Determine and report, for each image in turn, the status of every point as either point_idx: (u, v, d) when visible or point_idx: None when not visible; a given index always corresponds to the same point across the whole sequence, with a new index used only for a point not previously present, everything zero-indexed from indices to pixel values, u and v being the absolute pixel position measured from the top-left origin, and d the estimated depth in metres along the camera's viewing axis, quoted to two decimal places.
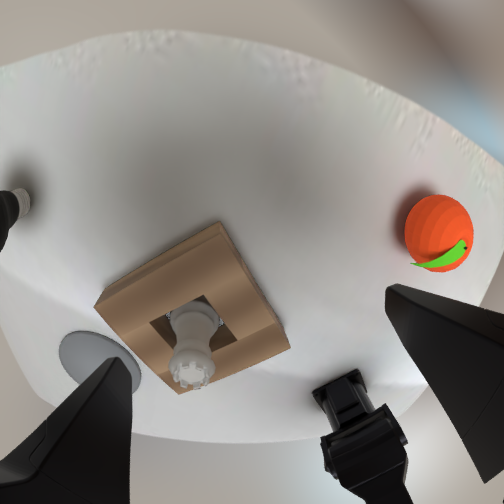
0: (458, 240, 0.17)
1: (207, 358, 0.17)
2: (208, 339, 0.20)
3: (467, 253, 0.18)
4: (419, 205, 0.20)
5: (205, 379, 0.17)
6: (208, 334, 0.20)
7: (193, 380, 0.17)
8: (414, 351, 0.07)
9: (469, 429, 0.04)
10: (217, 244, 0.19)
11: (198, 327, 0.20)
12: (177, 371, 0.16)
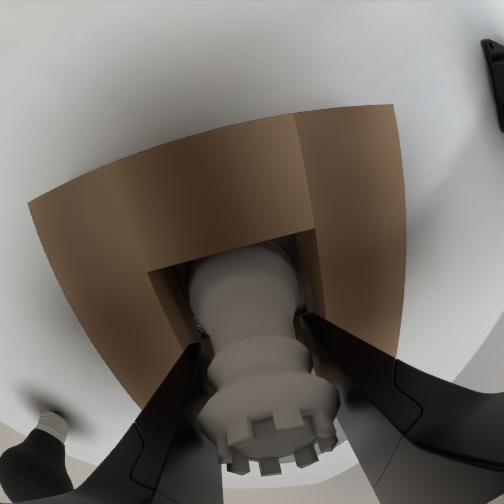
0: None
1: (240, 391, 0.05)
2: (258, 310, 0.07)
3: None
4: None
5: (313, 425, 0.04)
6: (250, 301, 0.08)
7: (305, 441, 0.05)
8: None
9: (376, 483, 0.04)
10: (43, 213, 0.07)
11: (219, 318, 0.08)
12: (238, 470, 0.05)
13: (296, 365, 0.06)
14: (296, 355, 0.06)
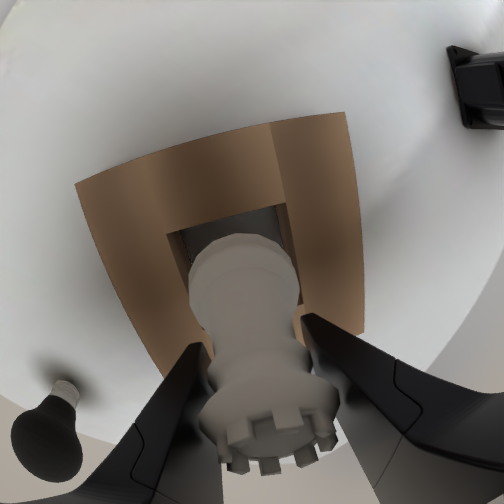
0: None
1: (240, 390, 0.05)
2: (258, 310, 0.07)
3: None
4: None
5: (312, 425, 0.04)
6: (250, 301, 0.08)
7: (304, 441, 0.05)
8: None
9: (376, 483, 0.04)
10: (88, 191, 0.10)
11: (219, 318, 0.08)
12: (238, 470, 0.05)
13: (296, 365, 0.06)
14: (296, 355, 0.06)
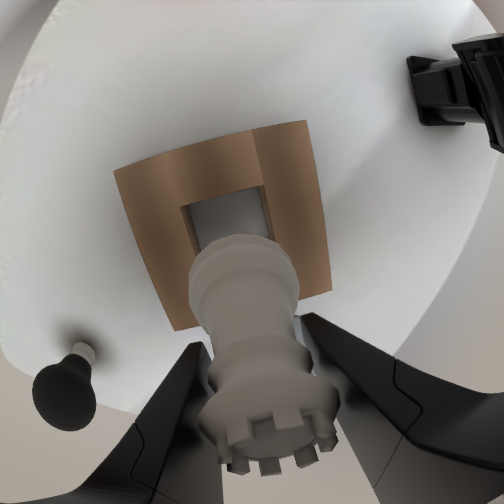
0: None
1: (240, 391, 0.05)
2: (258, 311, 0.07)
3: None
4: None
5: (313, 425, 0.04)
6: (250, 301, 0.08)
7: (304, 441, 0.05)
8: None
9: (376, 483, 0.04)
10: (123, 176, 0.15)
11: (219, 318, 0.08)
12: (238, 470, 0.05)
13: (296, 365, 0.06)
14: (296, 355, 0.06)
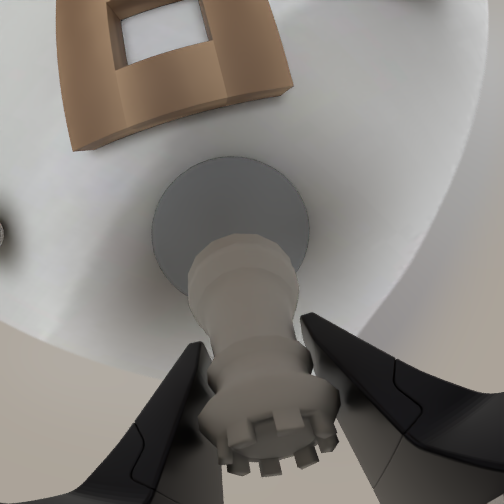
0: None
1: (240, 392, 0.05)
2: (258, 311, 0.07)
3: None
4: None
5: (313, 426, 0.04)
6: (250, 302, 0.08)
7: (305, 442, 0.05)
8: None
9: (376, 483, 0.04)
10: None
11: (218, 318, 0.08)
12: (238, 471, 0.05)
13: (296, 366, 0.06)
14: (296, 355, 0.06)
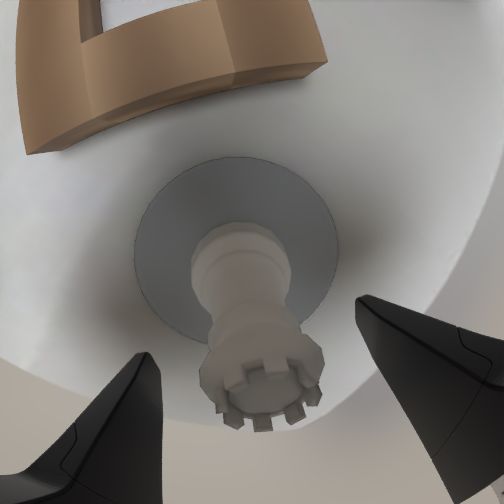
0: None
1: (236, 341, 0.06)
2: (253, 284, 0.09)
3: None
4: None
5: (298, 375, 0.06)
6: (246, 277, 0.09)
7: (292, 395, 0.06)
8: (383, 366, 0.07)
9: (437, 451, 0.04)
10: None
11: (219, 292, 0.09)
12: (233, 422, 0.06)
13: (284, 327, 0.07)
14: (285, 320, 0.07)
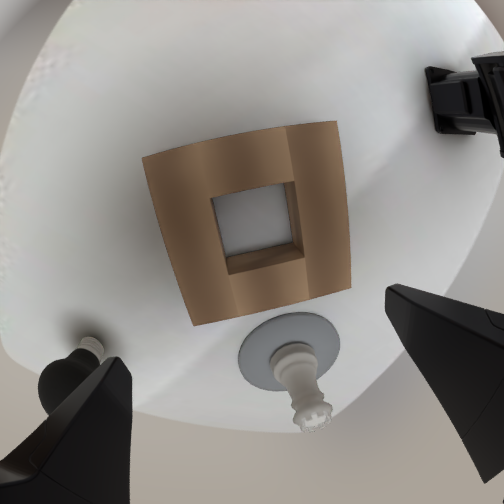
0: None
1: (308, 407, 0.18)
2: (307, 380, 0.21)
3: None
4: None
5: (325, 415, 0.17)
6: (304, 377, 0.21)
7: (322, 420, 0.18)
8: (414, 351, 0.07)
9: (468, 429, 0.04)
10: (152, 164, 0.15)
11: (293, 382, 0.21)
12: (304, 430, 0.18)
13: (320, 399, 0.19)
14: (320, 395, 0.19)
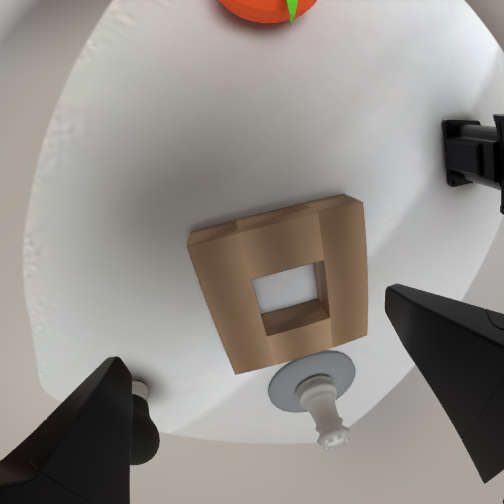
0: None
1: (330, 431, 0.20)
2: (328, 408, 0.23)
3: None
4: (221, 2, 0.12)
5: (344, 437, 0.20)
6: (326, 405, 0.23)
7: (341, 440, 0.20)
8: (414, 351, 0.07)
9: (469, 429, 0.04)
10: (198, 252, 0.17)
11: (317, 410, 0.23)
12: (326, 448, 0.20)
13: (339, 423, 0.21)
14: (339, 420, 0.22)
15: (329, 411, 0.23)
